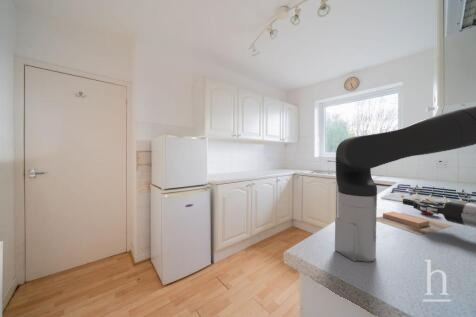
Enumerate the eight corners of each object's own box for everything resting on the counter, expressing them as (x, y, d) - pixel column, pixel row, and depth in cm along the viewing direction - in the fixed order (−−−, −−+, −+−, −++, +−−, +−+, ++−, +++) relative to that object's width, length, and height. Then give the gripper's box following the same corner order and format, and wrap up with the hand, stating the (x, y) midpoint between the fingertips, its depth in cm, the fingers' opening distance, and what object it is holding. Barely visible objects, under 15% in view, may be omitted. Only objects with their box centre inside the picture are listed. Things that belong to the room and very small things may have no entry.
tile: (418, 223, 66) (382, 213, 77) (418, 227, 66) (382, 216, 78) (429, 220, 69) (393, 211, 80) (429, 225, 69) (392, 215, 80)
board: (419, 237, 60) (419, 234, 60) (369, 221, 75) (369, 218, 75) (452, 228, 68) (452, 225, 68) (402, 214, 83) (402, 212, 83)
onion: (441, 218, 78) (441, 200, 78) (425, 218, 79) (426, 200, 79) (429, 214, 84) (429, 197, 84) (415, 213, 85) (415, 197, 85)
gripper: (479, 200, 59) (413, 190, 75) (459, 204, 55) (393, 193, 71) (479, 223, 59) (413, 208, 76) (458, 229, 55) (393, 211, 71)
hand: (403, 201), depth 73 cm, fingers closed
